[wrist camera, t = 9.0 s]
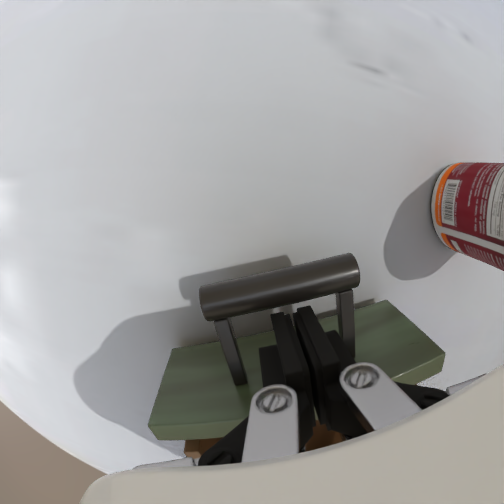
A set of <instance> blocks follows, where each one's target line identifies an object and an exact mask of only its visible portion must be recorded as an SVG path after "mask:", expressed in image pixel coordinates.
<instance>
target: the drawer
mask: <svg viewBox="0 0 504 504" xmlns="http://www.w3.org/2000/svg"><path fill="white" fill-rule="evenodd" d="M359 283H360V272H359V267H358V264H357V261H356V259H355V257H354V256H353V255H352V254H351V253H347V254H342V255H338V256H334V257H330V258H326V259H321V260H317V261H313V262H309V263H304V264H300V265H296V266H291V267H287V268H282V269H278V270H273V271H269V272H264V273H260V274H255V275H251V276H246V277H242V278H237V279H232V280H228V281H223V282H218V283H213V284H209V285H204V286H201V287H200V289H199V299H200V305H201V309H202V312H203V315H204V317H205V319H206V320H207V321H214V325H215V328H216V331H217V334H218V337H219V342H213V343H207V344H201V345H194V346H188V347H181V348H174V349H172V352H171V355H170V358H169V361H168V364H167V367H166V370H165V373H164V376H163V379H162V382H161V385H160V388H159V391H158V394H157V397H156V400H155V403H154V406H153V410H152V413H151V416H150V419H149V422H148V427H149V428H150V429H151V431H152V432H153V434H154V435H155V436H156V438H157V439H158V440H185V447H184V453H185V455H186V456H187V457H192V458H193V459H197V458H200V457H201V455H202V454H203V453H204V452H205V451H207V450H208V449H209V448H211V447H212V446H213V445H214V444H216V443H217V442H218V441H219V440H221V439H222V438H223V437H224V436H226V435H227V434H228V433H229V432H230V431H232V430H233V429H234V428H235V427H236V426H237V425H239V424H240V423H241V422H242V421H243V420H244V419H245V418H247V417H248V416H249V412H250V406H251V401H252V398H253V396H254V395H255V394H256V392H258V391H259V390H260V389H262V388H263V383H262V374H261V366H260V357H259V348H260V347H265V346H270V345H275V344H277V343H276V338H275V333H274V331H269V332H265V333H260V334H255V335H250V336H245V337H240V338H236V337H235V334H234V330H233V327H232V323H231V320H230V317H234V316H239V315H244V314H249V313H254V312H258V311H263V310H268V309H272V308H277V307H281V306H285V305H290V304H294V303H298V302H302V301H306V300H310V299H314V298H318V297H322V296H326V295H330V294H334V293H335V295H336V305H337V315H334V316H330V317H327V318H323V319H319V320H318V321H319V323H320V324H321V326H322V328H323V330H324V332H328V331H332V330H336V331H337V332H338V334H339V335H340V337H341V339H342V340H343V342H344V344H345V345H346V347H347V348H348V350H349V352H350V353H351V355H352V357H353V358H354V360H355V362H356V363H361V362H367V363H372V364H375V365H377V366H378V367H380V368H381V369H382V370H383V371H384V372H385V373H386V374H387V375H388V376H389V377H390V378H391V379H392V380H393V381H394V382H399V383H405V384H410V385H416V386H418V385H417V383H419V382H421V381H423V380H425V379H427V378H429V377H431V376H433V375H435V374H437V373H439V372H441V371H442V367H443V363H444V358H445V352H444V351H443V350H442V349H441V348H440V347H439V346H438V345H437V344H436V343H434V342H433V341H432V340H431V339H430V338H429V337H428V336H427V335H426V334H425V333H424V332H423V331H421V330H420V329H419V328H418V327H417V326H416V325H415V324H414V323H413V322H412V321H410V320H409V319H408V318H407V317H406V316H405V315H404V314H403V313H401V312H400V311H399V310H398V309H397V308H396V307H395V306H393V305H392V304H391V303H390V302H389V301H388V300H384V301H381V302H378V303H375V304H372V305H368V306H365V307H362V308H358V309H355V310H354V301H353V290H352V288H356V287H358V286H359ZM294 329H295V326H294ZM295 331H296V330H295ZM314 411H315V420H316V426H315V427H313V434H314V435H313V436H312V437H311V438H310V439H309V441H308V442H307V443H306V444H305V446H306V452H307V451H311V450H315V449H319V448H323V447H326V446H330V445H333V444H337V443H340V442H343V441H342V439H341V436H340V433H339V432H336V431H333V430H330V431H328V430H327V427H326V424H323V425H320V423H319V420H318V417H317V413H316V410H315V407H314Z"/></svg>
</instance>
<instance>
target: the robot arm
mask: <svg viewBox="0 0 504 504" xmlns="http://www.w3.org/2000/svg"><path fill="white" fill-rule="evenodd" d="M293 318H294V324H295V329H294V326H293V323H292V320H291V318H290V315H289V314H286V315H284V312H280V313H275V314H271V319H272V324H273V329H274V333H275V338H276V343H277V344H275V345H270V346H265V347H260V348H259V357H260V366H261V374H262V383H263V388H262V389H260V390H259V391H258V392H256V394H255V395H254V396H253V398H252V401H251V406H250V412H249V416H248V417H247V418H245V419H244V420H243V421H242V422H241V423H240V424H239V425H237V426H236V427H235V428H234V429H233V430H232V431H230V432H229V433H228V434H227V435H226V436H224V437H223V438H222V439H221V440H219V441H218V442H217V443H216V444H214V445H213V446H212V447H211V448H209V449H208V450H207V451H205V452H204V453H203V454H202V455H201V457H200V458H197V459H193V458H192V457H187V458H182V459H177V460H172V461H166V462H159V463H152V464H145V465H140V466H136V467H135V468H133V469H132V470H125V471H121V472H116V473H112V474H109V475H106V476H103V477H101V478H99V479H97V480H96V481H94V482H93V483H92V484H91V485H90V486H89V488H88V489H87V490H86V492H85V493H84V495H83V497H82V499H81V501H80V503H79V504H504V364H503V365H501V366H499V367H498V368H496V369H494V370H492V371H490V372H489V373H486V374H483V375H481V376H478V377H476V378H473V379H470V380H468V381H465V382H462V383H459V384H456V385H453V386H450V387H447V389H446V391H442V390H440V389H436V388H429V387H423V386H416V385H410V384H405V383H399V382H394V381H393V380H392V379H391V378H390V377H389V376H388V375H387V374H386V373H385V372H384V371H383V370H382V369H381V368H380V367H378V366H377V365H375V364H372V363H367V362H361V363H356V362H355V360H354V358H353V357H352V355H351V353H350V352H349V350H348V348H347V347H346V345H345V344H344V342H343V340H342V339H341V337H340V335H339V334H338V332H337V331H336V330H332V331H328V332H324V330H323V328H322V326H321V324H320V323H319V321H318V319H317V317H316V315H315V314H314V312H313V310H312V308H311V306H306V307H301V308H297V312H295V313H293ZM295 330H296V331H295ZM314 407H315V410H316V413H317V417H318V420H319V423H320V425H323V424H326V427H327V430H328V431H330V430H333V431H336V432H339V433H340V436H341V439H342V441H343V442H340V443H337V444H333V445H330V446H326V447H323V448H319V449H315V450H311V451H307V452H306V446H305V444H306V443H307V442H308V441H309V439H310V438H311V437H312V436H313V435H314V434H313V427H315V426H316V420H315V411H314Z"/></svg>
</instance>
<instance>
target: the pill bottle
mask: <svg viewBox="0 0 504 504" xmlns="http://www.w3.org/2000/svg"><path fill="white" fill-rule="evenodd" d="M431 212H432V219H433V223H434V227H435V230H436V232H437V234H438V236H439V238H440V239H441V241H442V242H443V243H444V244H445V245H446V246H447V247H449V248H450V249H453V250H454V251H457V252H459V253H462V254H465V255H467V256H470V257H472V258H475V259H477V260H480V261H482V262H485V263H487V264H489V265H492V266H494V267H496V268H499V269H501V270H503V271H504V163H456V164H452V165H450V166H448V167H447V168H446V169H445V170H444V171H443V172H442V173H441V174H440V176H439V178H438V179H437V182H436V184H435V187H434V190H433V195H432V202H431Z"/></svg>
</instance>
